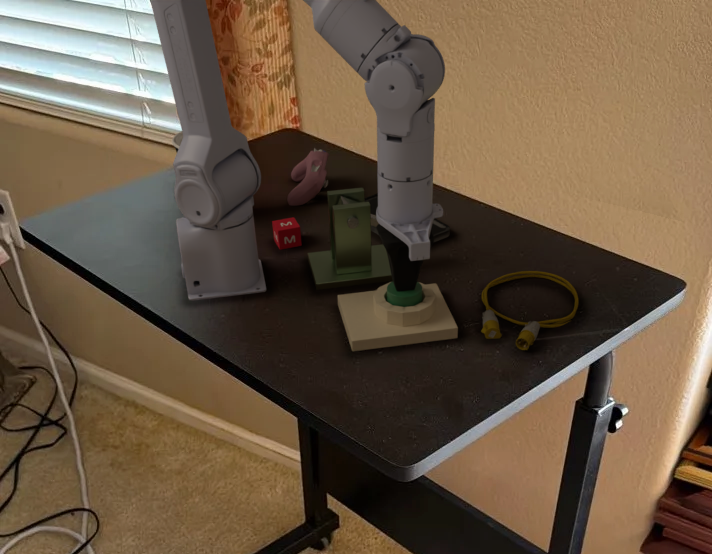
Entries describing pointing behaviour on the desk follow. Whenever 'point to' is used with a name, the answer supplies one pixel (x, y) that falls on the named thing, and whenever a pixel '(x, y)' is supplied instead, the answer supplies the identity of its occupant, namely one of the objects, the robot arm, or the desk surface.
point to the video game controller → (309, 177)
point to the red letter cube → (287, 233)
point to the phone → (438, 227)
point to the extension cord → (530, 328)
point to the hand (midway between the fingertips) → (404, 288)
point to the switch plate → (395, 319)
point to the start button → (404, 296)
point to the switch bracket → (349, 246)
